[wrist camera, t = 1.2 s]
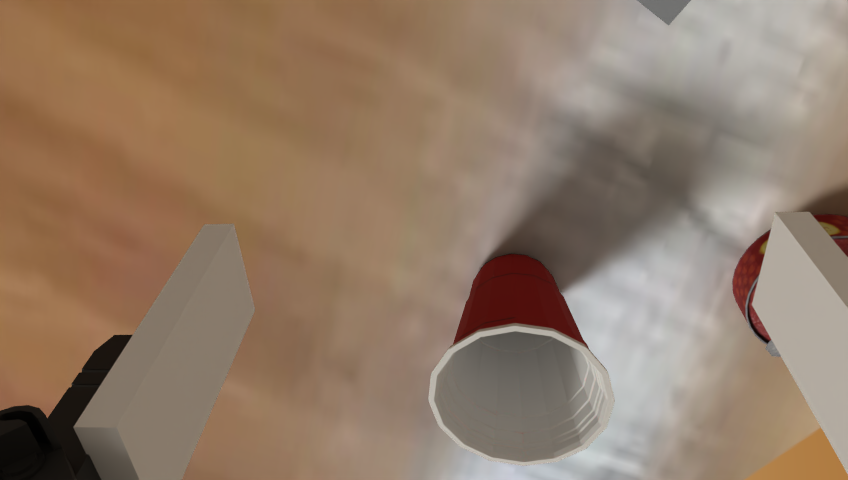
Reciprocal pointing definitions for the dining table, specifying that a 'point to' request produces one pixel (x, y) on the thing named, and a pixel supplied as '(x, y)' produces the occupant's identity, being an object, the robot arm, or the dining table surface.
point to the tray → (665, 8)
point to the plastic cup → (520, 371)
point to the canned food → (749, 266)
